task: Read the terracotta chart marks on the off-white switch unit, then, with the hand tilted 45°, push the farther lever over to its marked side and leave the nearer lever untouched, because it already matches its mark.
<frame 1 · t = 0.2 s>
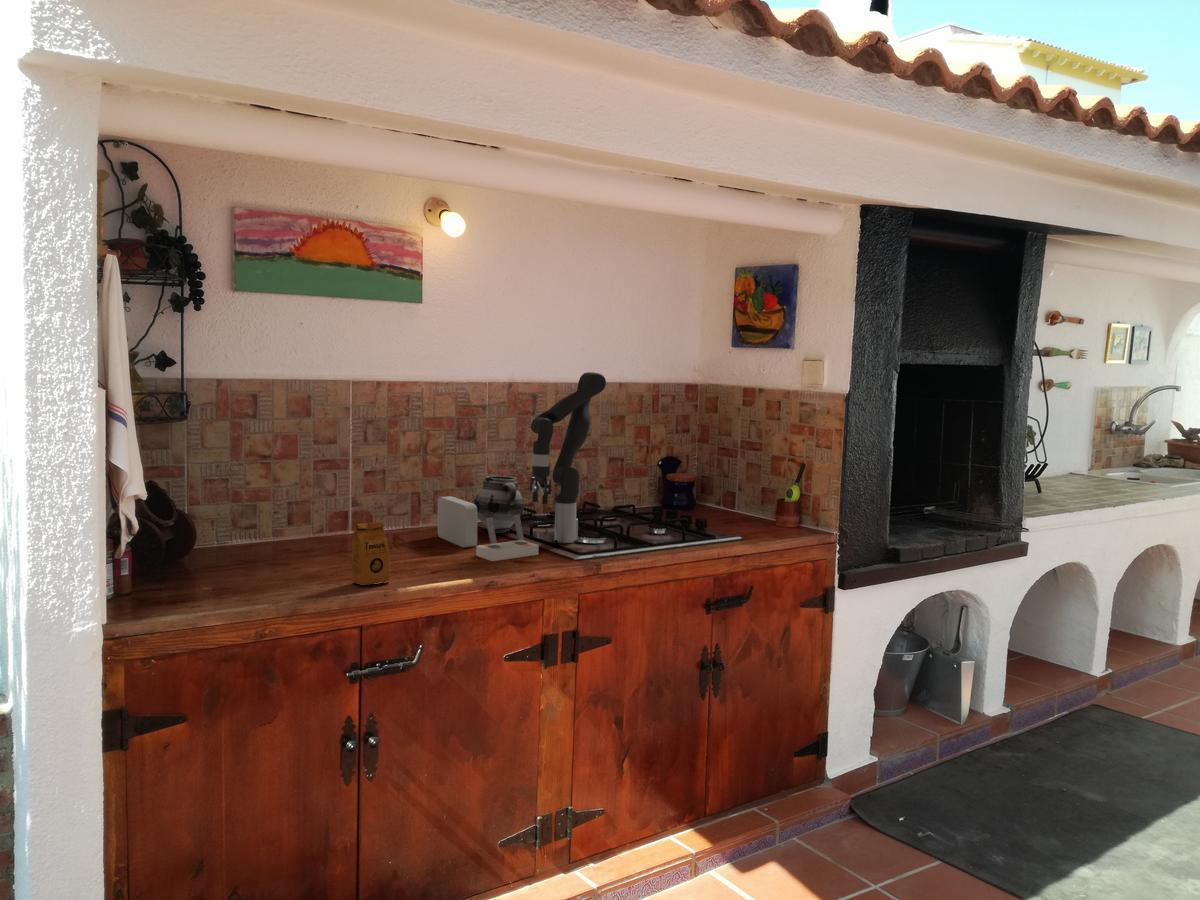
hand: (539, 503, 409), 18 cm above the counter, tool pointing down, fingers open, 8 cm apart
lever 2: (518, 525, 394), point 11 cm above the counter, hinge at -20.0°
coffee package: (371, 584, 340), on the counter
switch unit: (507, 555, 390), on the counter
ceramic pot: (498, 531, 440), on the counter
rounded white slab: (456, 542, 414), on the counter
lever 1: (490, 528, 386), point 11 cm above the counter, hinge at -20.0°
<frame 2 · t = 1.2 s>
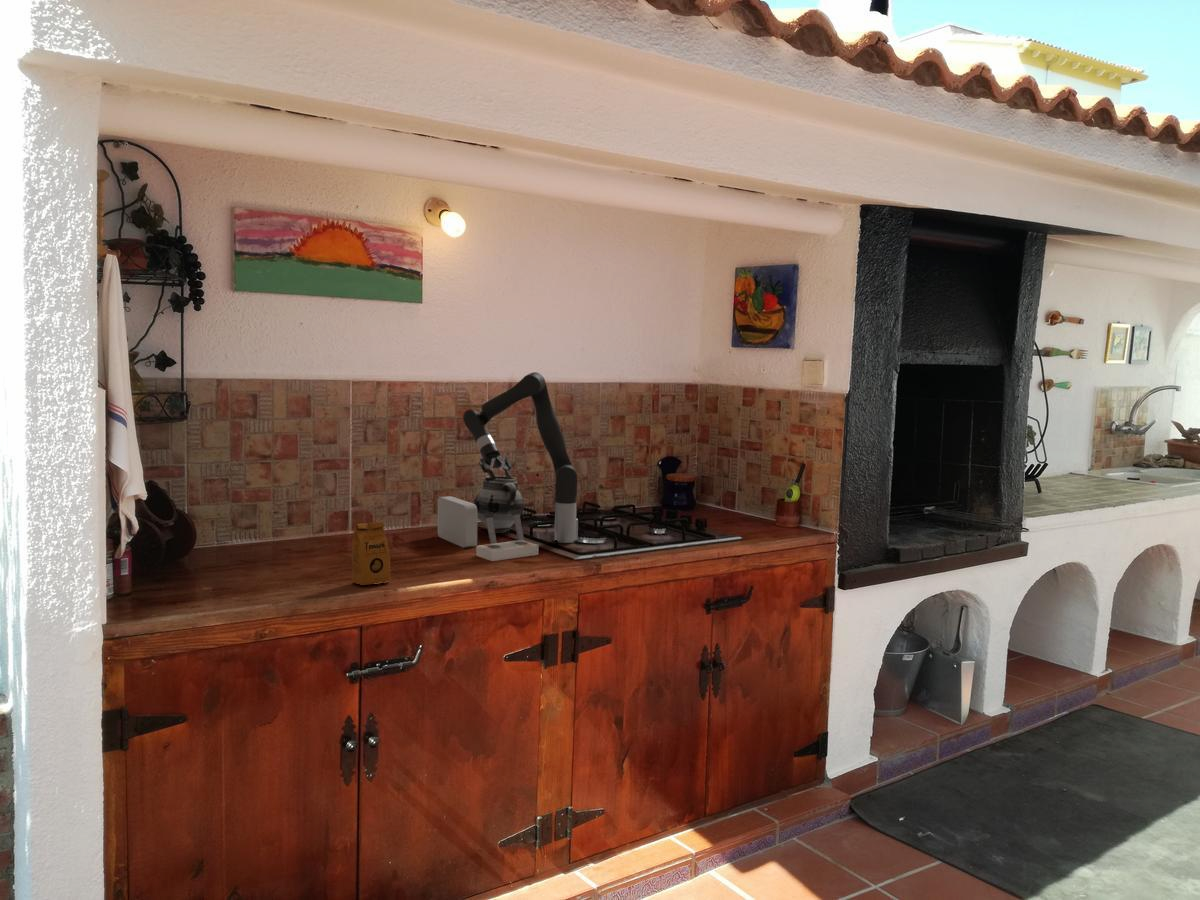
hand: (502, 478, 405), 29 cm above the counter, tool tilted 45°, fingers open, 6 cm apart
nothing on the counter moved.
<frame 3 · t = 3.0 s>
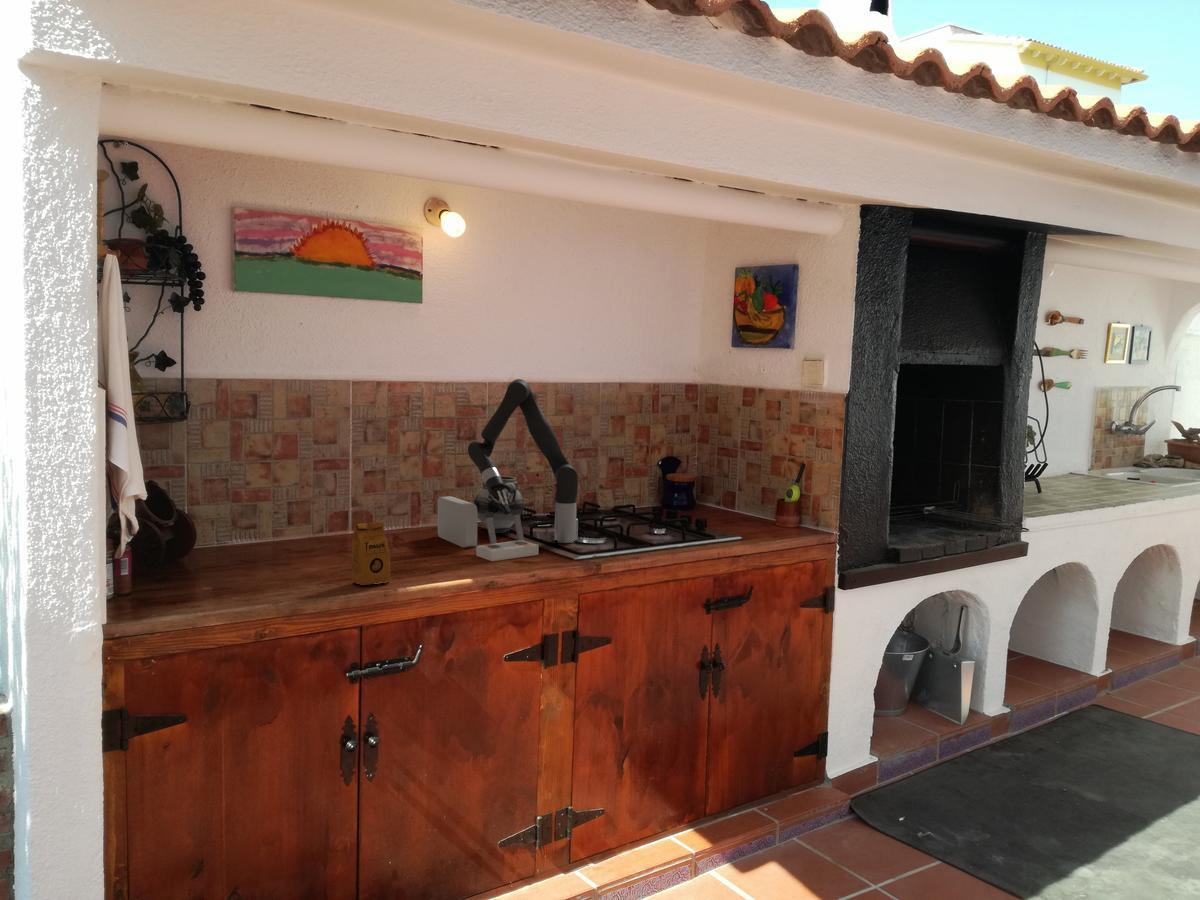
hand: (508, 513, 400), 15 cm above the counter, tool tilted 45°, fingers closed
nothing on the counter moved.
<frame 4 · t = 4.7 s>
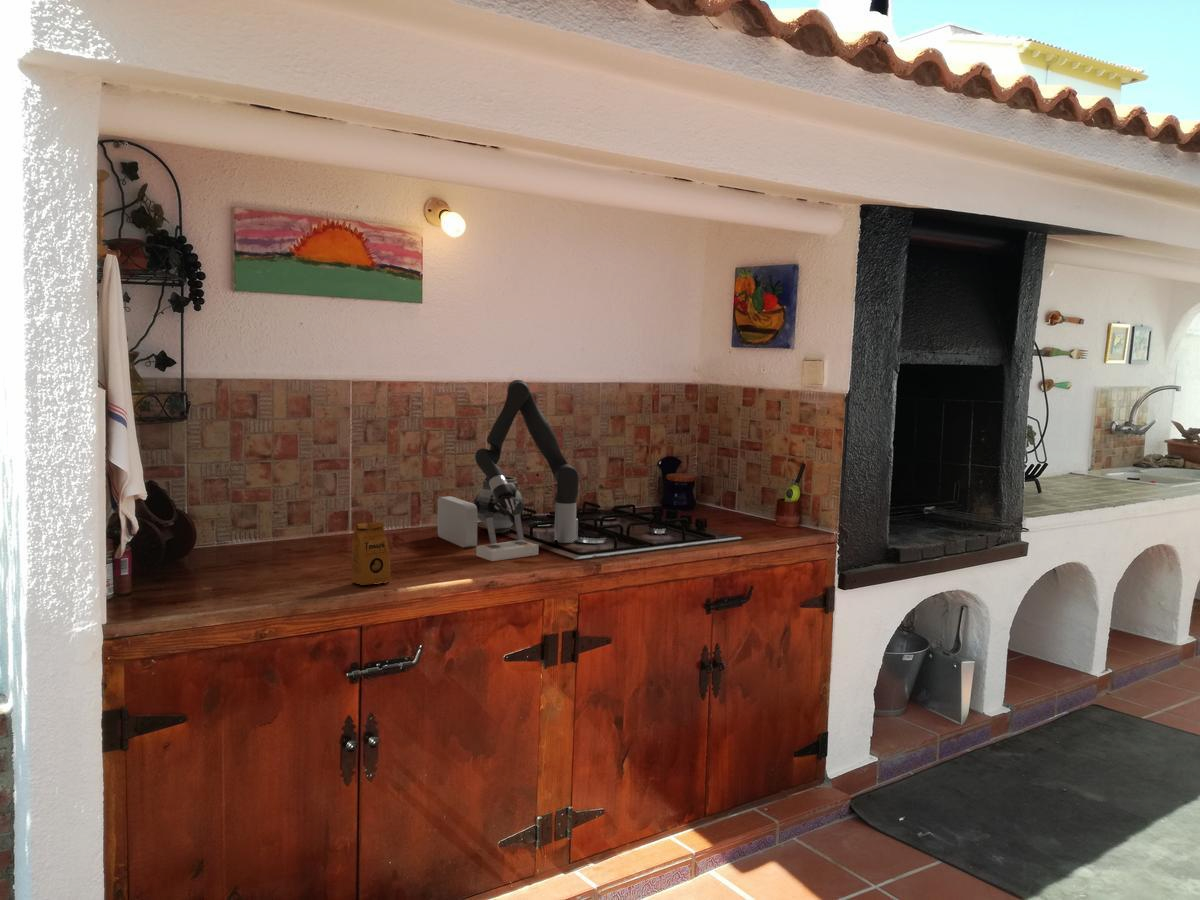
hand: (515, 522, 395), 12 cm above the counter, tool tilted 45°, fingers closed
lever 2: (518, 524, 394), point 11 cm above the counter, hinge at -18.2°, touching gripper
everything else where it was.
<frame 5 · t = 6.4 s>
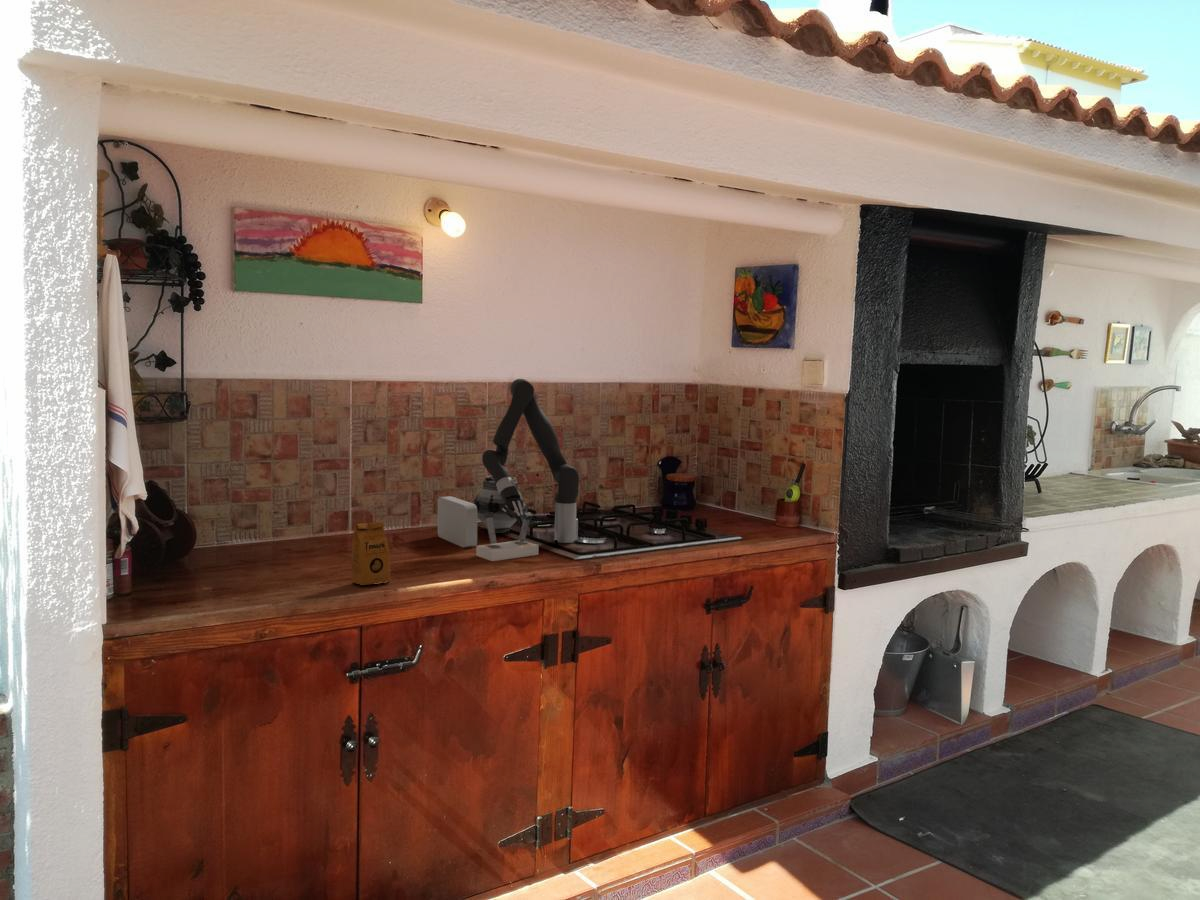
hand: (523, 525, 391), 12 cm above the counter, tool tilted 45°, fingers closed
lever 2: (524, 527, 390), point 11 cm above the counter, hinge at 22.5°, touching gripper
everything else where it was.
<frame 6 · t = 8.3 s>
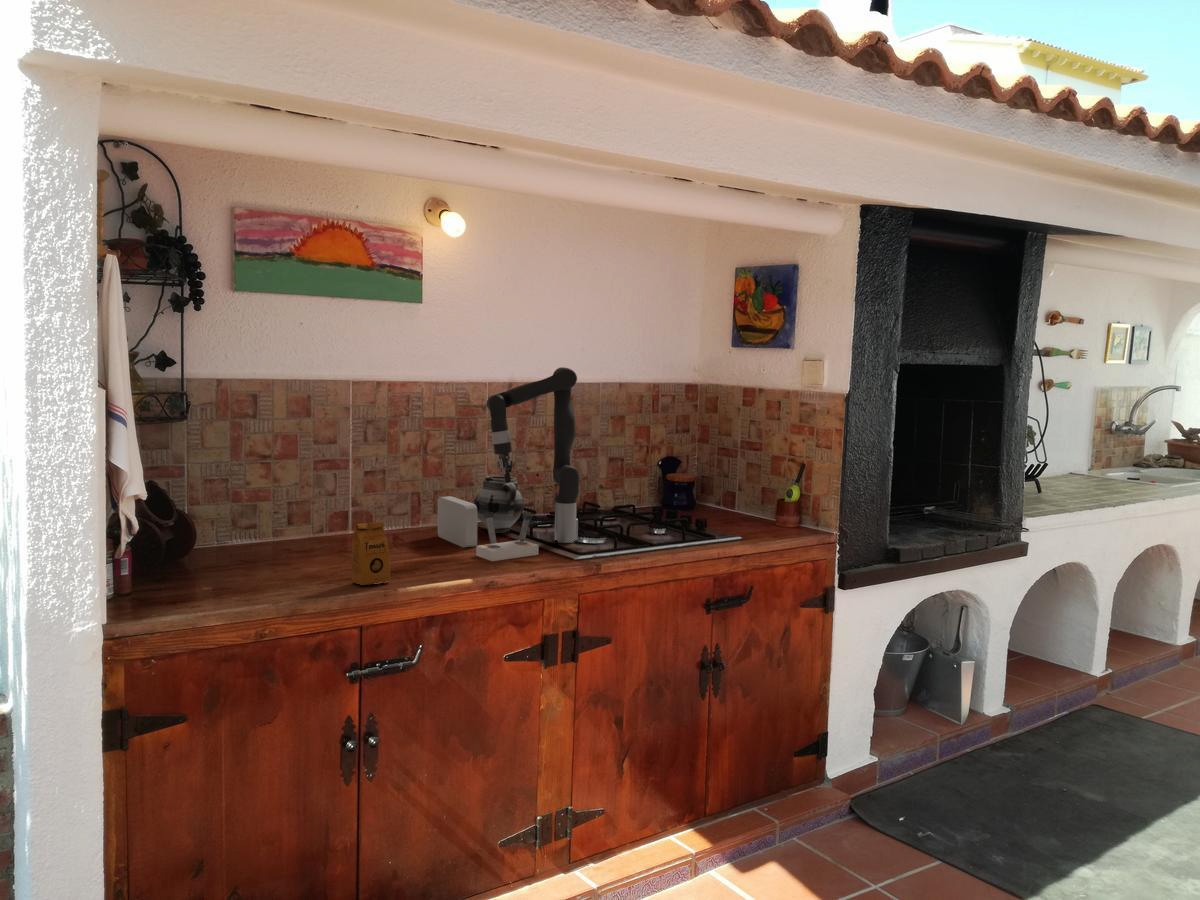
hand: (508, 482, 406), 27 cm above the counter, tool pointing down, fingers closed
lever 2: (524, 527, 390), point 11 cm above the counter, hinge at 22.6°
everything else where it was.
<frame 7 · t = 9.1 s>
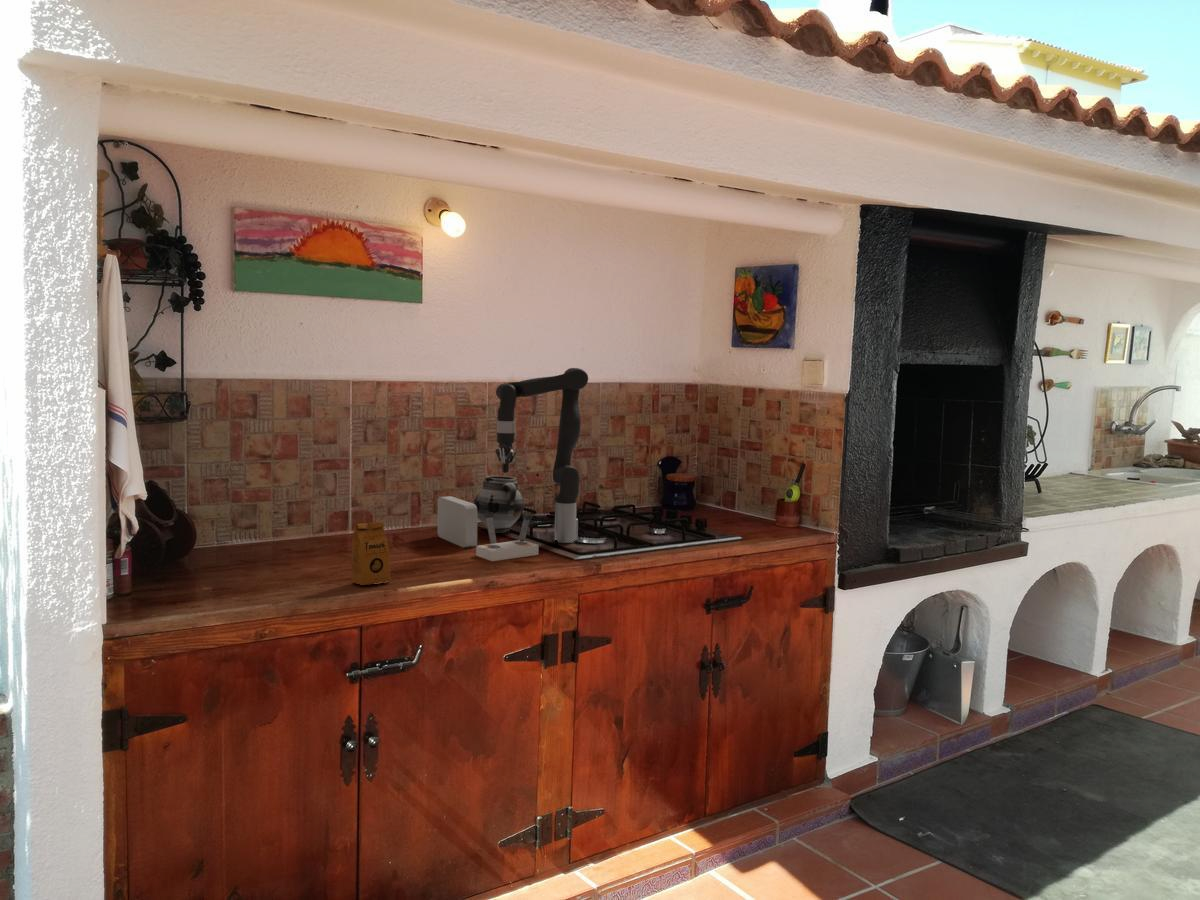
hand: (505, 472, 406), 31 cm above the counter, tool pointing down, fingers closed
nothing on the counter moved.
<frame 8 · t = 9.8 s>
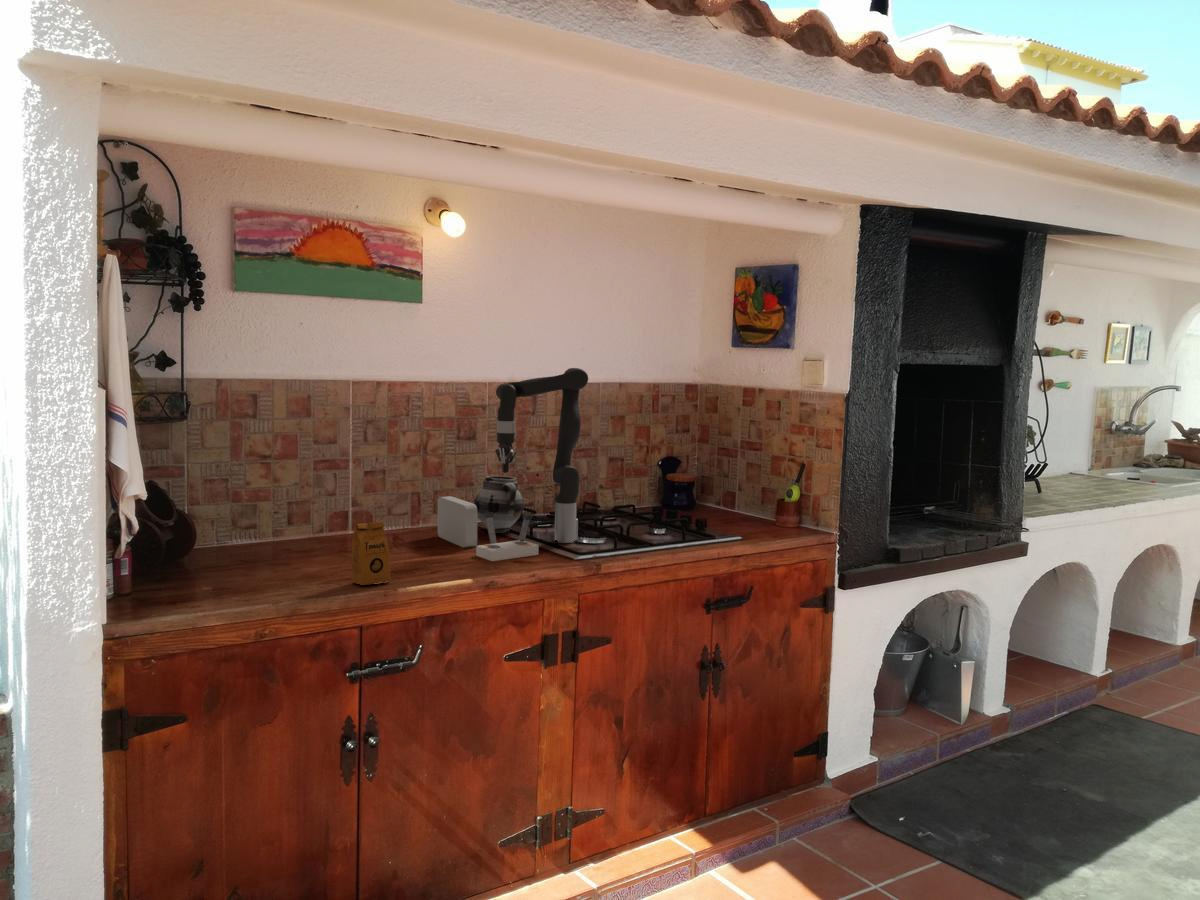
hand: (505, 472, 406), 31 cm above the counter, tool pointing down, fingers closed
nothing on the counter moved.
at the end: lever 2 at +23° (first picture: -20°); lever 1 at -20° (first picture: -20°) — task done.
